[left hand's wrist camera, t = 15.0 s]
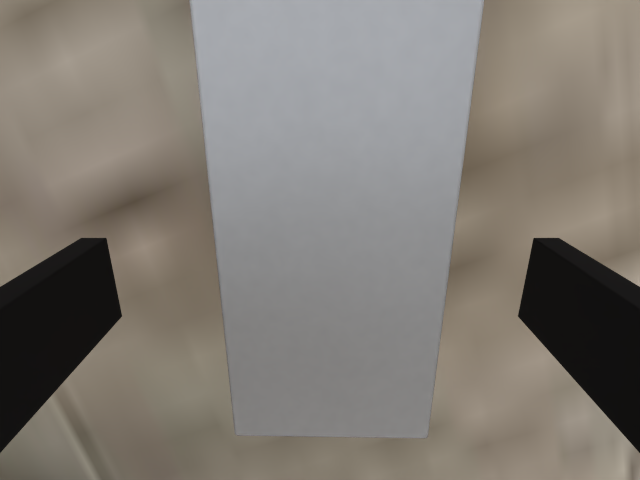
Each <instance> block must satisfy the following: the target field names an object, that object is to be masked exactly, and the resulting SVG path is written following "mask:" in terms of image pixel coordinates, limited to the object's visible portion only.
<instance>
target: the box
mask: <svg viewBox="0 0 640 480" xmlns="http://www.w3.org/2000/svg"><path fill="white" fill-rule="evenodd" d="M483 6H484V0H190V10H191V19H192V29H193V39H194V48H195V58H196V67H197V77H198V86H199V96H200V105H201V115H202V124H203V134H204V143H205V153H206V162H207V172H208V182H209V191H210V201H211V210H212V220H213V229H214V239H215V248H216V258H217V267H218V277H219V286H220V296H221V306H222V315H223V325H224V334H225V344H226V353H227V363H228V372H229V382H230V391H231V401H232V410H233V420H234V429H235V434H236V435H238V436H306V437H374V438H427V437H428V430H429V422H430V415H431V407H432V399H433V392H434V384H435V376H436V369H437V361H438V353H439V345H440V338H441V330H442V322H443V315H444V307H445V299H446V291H447V284H448V276H449V268H450V261H451V253H452V245H453V237H454V230H455V222H456V214H457V207H458V199H459V191H460V183H461V176H462V168H463V160H464V153H465V145H466V137H467V129H468V122H469V114H470V106H471V99H472V91H473V83H474V75H475V68H476V60H477V52H478V45H479V37H480V29H481V21H482V14H483Z"/></svg>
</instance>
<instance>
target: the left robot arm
mask: <svg viewBox="0 0 640 480" xmlns="http://www.w3.org/2000/svg"><path fill="white" fill-rule="evenodd" d="M121 317H122V314H121V309H120V304H119V299H118V294H117V289H116V284H115V279H114V274H113V269H112V264H111V259H110V254H109V249H108V244H107V239H106V238H81V239H79V240H77V241H76V242H74V243H72V244H71V245H69V246H67V247H66V248H64V249H62V250H61V251H59V252H57V253H56V254H54V255H52V256H51V257H49V258H47V259H46V260H44V261H42V262H41V263H39V264H38V265H36V266H34V267H33V268H31V269H29V270H28V271H26V272H24V273H23V274H21V275H19V276H18V277H16V278H14V279H13V280H11V281H9V282H8V283H6V284H4V285H3V286H1V287H0V452H1V451H2V450H3V449H4V448H5V447H6V446H7V445H8V443H9V442H10V441H11V440H12V439H13V438H14V437H15V436H16V435H17V433H18V432H19V431H20V430H21V429H22V428H23V427H24V426H25V424H26V423H27V422H28V421H29V420H30V419H31V418H32V417H33V415H34V414H35V413H36V412H37V411H38V410H39V409H40V408H41V406H42V405H43V404H44V403H45V402H46V401H47V400H48V399H49V397H50V396H51V395H52V394H53V393H54V392H55V391H56V390H57V389H58V387H59V386H60V385H61V384H62V383H63V382H64V381H65V380H66V378H67V377H68V376H69V375H70V374H71V373H72V372H73V371H74V369H75V368H76V367H77V366H78V365H79V364H80V363H81V362H82V360H83V359H84V358H85V357H86V356H87V355H88V354H89V353H90V352H91V350H92V349H93V348H94V347H95V346H96V345H97V344H98V343H99V341H100V340H101V339H102V338H103V337H104V336H105V335H106V334H107V332H108V331H109V330H110V329H111V328H112V327H113V326H114V325H115V323H116V322H117V321H118V320H119V319H120V318H121ZM518 317H519V318H520V319H521V320H522V321H523V322H524V323H525V325H526V326H527V327H528V328H529V329H530V330H531V331H532V332H533V334H534V335H535V336H536V337H537V338H538V339H539V340H540V341H541V343H542V344H543V345H544V346H545V347H546V348H547V349H548V350H549V352H550V353H551V354H552V355H553V356H554V357H555V358H556V359H557V360H558V362H559V363H560V364H561V365H562V366H563V367H564V368H565V369H566V371H567V372H568V373H569V374H570V375H571V376H572V377H573V378H574V380H575V381H576V382H577V383H578V384H579V385H580V386H581V387H582V389H583V390H584V391H585V392H586V393H587V394H588V395H589V396H590V397H591V399H592V400H593V401H594V402H595V403H596V404H597V405H598V406H599V408H600V409H601V410H602V411H603V412H604V413H605V414H606V415H607V417H608V418H609V419H610V420H611V421H612V422H613V423H614V424H615V426H616V427H617V428H618V429H619V430H620V431H621V432H622V433H623V435H624V436H625V437H626V438H627V439H628V440H629V441H630V442H631V443H632V445H633V446H634V447H635V448H636V449H637V450H638V451H639V452H640V287H639V286H637V285H636V284H634V283H632V282H631V281H629V280H627V279H626V278H624V277H622V276H621V275H619V274H617V273H616V272H614V271H612V270H611V269H609V268H607V267H606V266H604V265H602V264H601V263H599V262H598V261H596V260H594V259H593V258H591V257H589V256H588V255H586V254H584V253H583V252H581V251H579V250H578V249H576V248H574V247H573V246H571V245H569V244H568V243H566V242H564V241H563V240H561V239H559V238H534V239H533V244H532V249H531V254H530V259H529V264H528V269H527V274H526V279H525V284H524V289H523V294H522V299H521V304H520V309H519V314H518Z"/></svg>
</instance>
